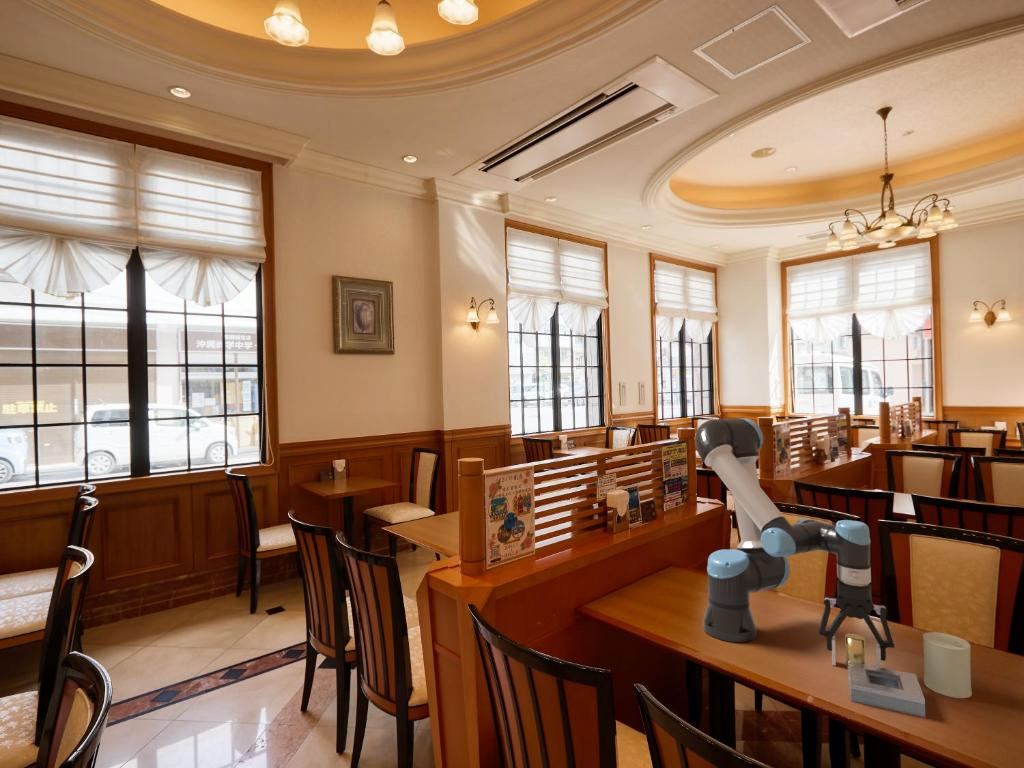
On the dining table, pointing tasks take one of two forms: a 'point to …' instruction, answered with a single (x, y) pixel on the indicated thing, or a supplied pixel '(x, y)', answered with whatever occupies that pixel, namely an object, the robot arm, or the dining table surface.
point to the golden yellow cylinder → (854, 648)
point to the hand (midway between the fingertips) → (855, 667)
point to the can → (947, 665)
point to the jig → (886, 689)
